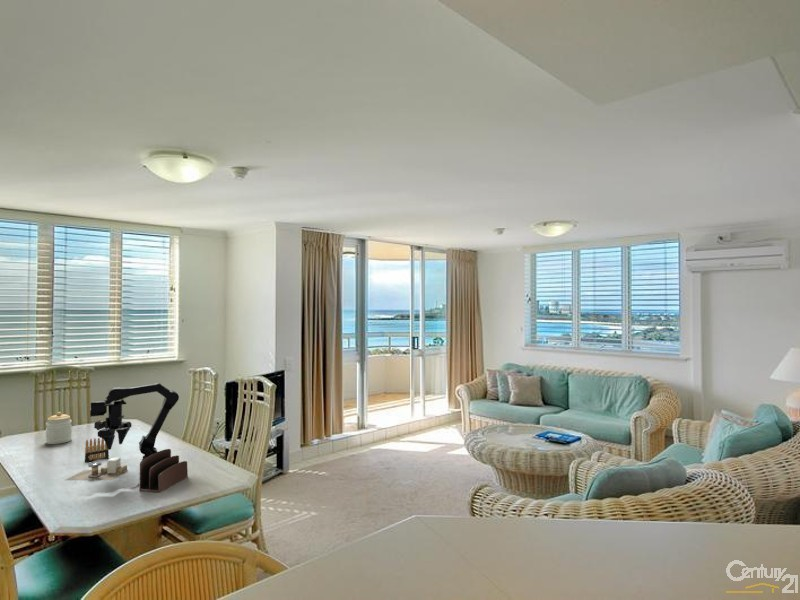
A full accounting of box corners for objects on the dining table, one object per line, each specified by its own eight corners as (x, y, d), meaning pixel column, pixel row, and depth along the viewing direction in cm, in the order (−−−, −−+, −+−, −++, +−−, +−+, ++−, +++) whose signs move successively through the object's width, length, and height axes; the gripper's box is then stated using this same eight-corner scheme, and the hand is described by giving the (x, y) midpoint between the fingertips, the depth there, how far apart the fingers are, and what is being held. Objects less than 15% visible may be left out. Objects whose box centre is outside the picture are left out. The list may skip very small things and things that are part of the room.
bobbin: (103, 473, 232) (103, 462, 232) (97, 477, 226) (97, 465, 226) (92, 473, 232) (92, 462, 232) (85, 477, 226) (85, 465, 226)
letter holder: (138, 491, 214) (139, 458, 214) (169, 476, 233) (169, 446, 233) (159, 493, 212) (159, 460, 212) (188, 477, 231) (188, 447, 231)
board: (127, 472, 237) (127, 469, 237) (110, 483, 223) (110, 479, 223) (84, 473, 237) (84, 469, 237) (64, 483, 223) (64, 480, 223)
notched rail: (127, 470, 237) (127, 464, 237) (121, 473, 232) (121, 468, 232) (107, 470, 237) (107, 464, 237) (100, 473, 232) (100, 468, 232)
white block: (120, 470, 236) (120, 457, 237) (115, 473, 232) (115, 460, 233) (112, 470, 236) (112, 457, 237) (107, 473, 232) (107, 460, 233)
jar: (41, 445, 287) (41, 414, 287) (51, 439, 299) (51, 410, 299) (66, 443, 290) (66, 413, 290) (75, 438, 302) (75, 409, 302)
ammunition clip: (85, 463, 252) (85, 440, 252) (84, 462, 254) (84, 439, 254) (108, 459, 259) (109, 436, 259) (108, 458, 261) (108, 435, 261)
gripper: (109, 410, 246) (109, 441, 246) (86, 418, 228) (85, 452, 227) (132, 410, 246) (132, 441, 246) (110, 418, 228) (110, 452, 227)
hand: (115, 446), depth 237 cm, fingers open, 9 cm apart
